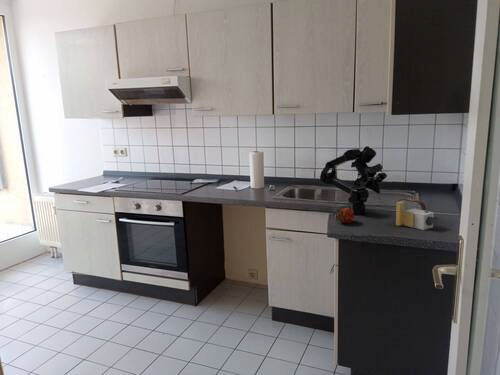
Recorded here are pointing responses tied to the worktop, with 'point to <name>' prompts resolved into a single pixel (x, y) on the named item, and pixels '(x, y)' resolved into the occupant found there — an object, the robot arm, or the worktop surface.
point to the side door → (403, 216)
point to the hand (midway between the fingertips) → (379, 193)
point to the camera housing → (422, 218)
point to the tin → (412, 204)
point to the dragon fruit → (345, 215)
